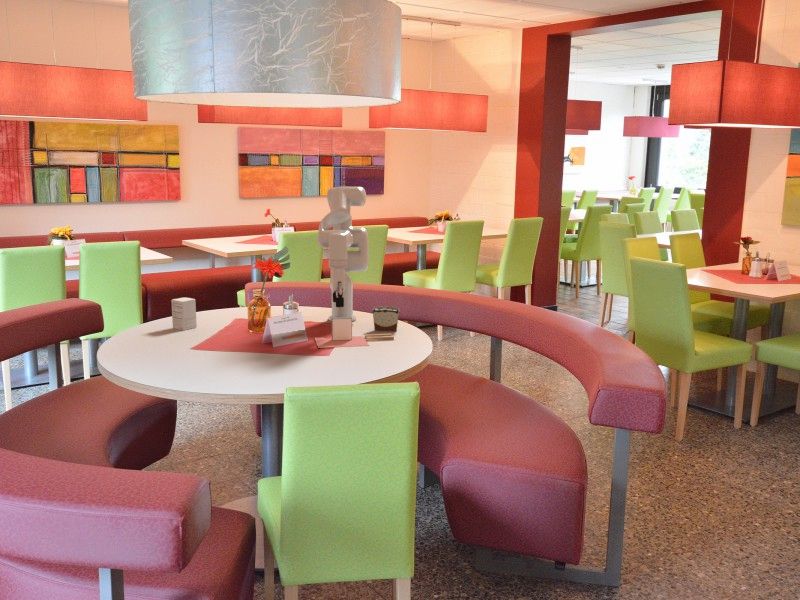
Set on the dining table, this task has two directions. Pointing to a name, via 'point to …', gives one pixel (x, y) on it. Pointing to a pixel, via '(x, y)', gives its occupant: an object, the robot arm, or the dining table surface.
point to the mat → (341, 342)
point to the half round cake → (385, 318)
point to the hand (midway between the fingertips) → (338, 304)
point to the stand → (379, 337)
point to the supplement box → (184, 313)
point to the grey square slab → (341, 329)
